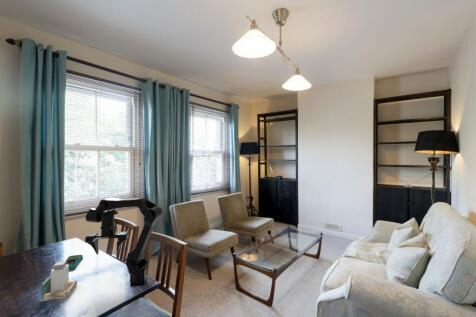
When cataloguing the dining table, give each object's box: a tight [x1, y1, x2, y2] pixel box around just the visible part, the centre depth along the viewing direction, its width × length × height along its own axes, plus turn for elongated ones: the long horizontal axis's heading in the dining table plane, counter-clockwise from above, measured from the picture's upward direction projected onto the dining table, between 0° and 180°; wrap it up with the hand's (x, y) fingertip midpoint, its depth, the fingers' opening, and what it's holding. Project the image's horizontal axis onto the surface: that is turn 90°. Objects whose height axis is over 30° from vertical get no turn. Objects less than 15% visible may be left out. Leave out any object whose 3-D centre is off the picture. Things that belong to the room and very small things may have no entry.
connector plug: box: [50, 260, 70, 293], centre depth 106 cm, size 5×5×13 cm
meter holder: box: [40, 274, 78, 302], centre depth 106 cm, size 10×10×7 cm
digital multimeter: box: [65, 254, 84, 271], centre depth 132 cm, size 7×15×3 cm, turn 18°
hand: (107, 253), depth 118 cm, fingers open, 9 cm apart
